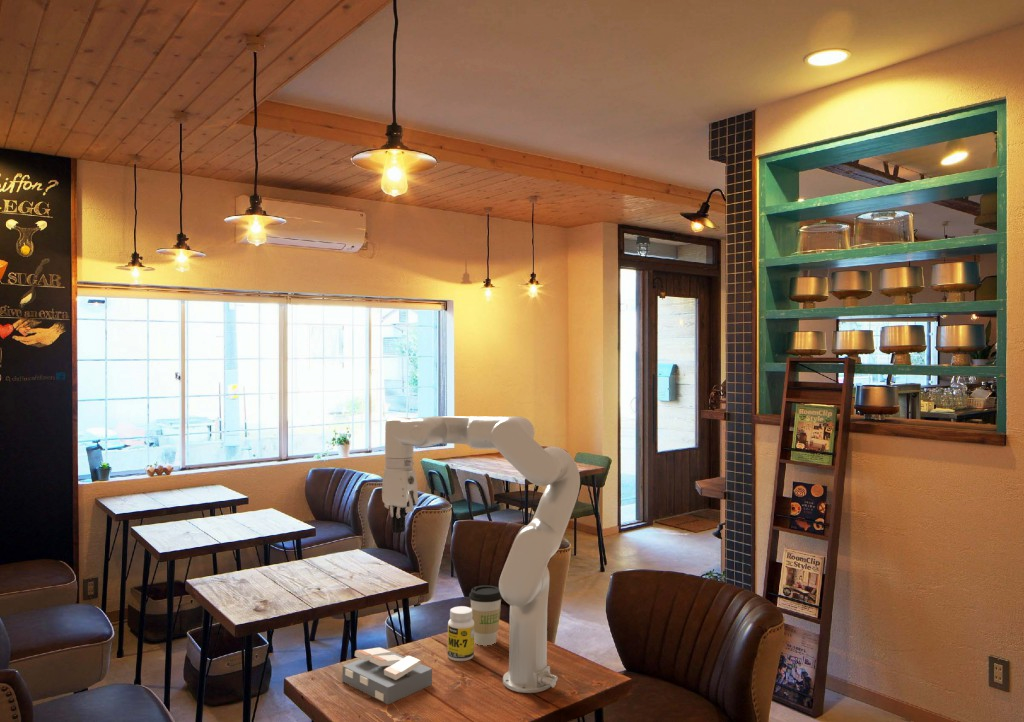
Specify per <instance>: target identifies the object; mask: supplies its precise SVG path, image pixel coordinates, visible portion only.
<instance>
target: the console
mask: <svg viewBox="0 0 1024 722" xmlns="http://www.w3.org/2000/svg"><path fill="white" fill-rule="evenodd" d="M385 650H388V651H390V655H397V656H399V657H401V658H405V657H406V656H403V655H401V654H398V653H396V652H394V651H391V650H389V649H385ZM391 666H392V665H391ZM387 667H390V666H379V665H376V664H374V663H372V662H370V660H367V661H364V660H362V659H360V658H358V660H357V659H356V660H354V661H352V662H349V663H346V664H344V665H342V674H341V675H342V681H343V683H344V682H345V683H344V684H346V683H348V684H349V685H348V684H347V685H348V686H350V685H351V686H350V687H352V686H353V687H352V688H354V687H355V688H354V689H356V688H357V689H356V690H358V689H359V690H358V691H360V692H362V691H363V692H362V693H364V694H366V693H367V694H366V695H368V696H369V697H372V698H374V699H376V700H378V701H380V702H382V703H384V704H386V705H390V704H392V703H395V702H396V701H399V700H401V699H403V698H406V697H409V696H410V695H412V694H414V693H417V692H419V691H422V690H423V689H426V688H429V687H430V686H432V685H433V668H431V667H429V666H427V665H424V664H422V663H421V665H420V666H418V667H416V668H415V669H413V670H412V671H410V672H408V673H407V674H405V675H404V676H402V677H400V678H399V679H397V680H394V679H392V678H390V677H388V676H386V675H384V669H386V668H387Z"/></svg>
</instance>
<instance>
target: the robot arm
mask: <svg viewBox="0 0 1024 722" xmlns="http://www.w3.org/2000/svg"><path fill="white" fill-rule="evenodd" d="M384 428H385V433H384V434H385V438H384V439H385V440H384V441H385V443H384V444H385V445H384V450H385V451H384V453H385V455H384V469H383V470H384V471H383V476H382V484H381V498H382V499H381V500H382V502H383V504H384V508H386V509H388V511H389V512H390V513H389V515H390V517H391V532H392V533H394V534H399V533H403V532H404V533H405V531H406V517H407V516H408V514H409V513H413V512H414V507H415V506H417V505H418V503H419V491H418V490H419V489H418V479H417V472H416V469H414V464H415V462H414V447H417V448H425V447H429V446H430V447H431V446H434V445H437V444H457V445H466V446H468V447H470V448H471V449H473V450H496V451H498V452H499V453H500V455H502V457H504V459H505V460H506V461H507V462H508V463H509V464H510V465H511V466H512V467H514V469H515V470H516V471H518V473H520V475H522V477H523V478H525V479H526V480H527V481H528V482H529V483H531V484H533V485H535V486H538V487H545V489H544V491H543V493H542V496H541V497H540V500H539V503H538V506H537V508H536V510H535V513H534V515H533V518H532V520H531V521H530V522H529V523H528V524H527V525H526V526H524V527H523V528H522V529H521V530H520V531H519V532H518V534H517V535H516V537H515V539H514V541H513V543H512V546H511V548H510V551H509V553H508V554H507V558H506V561H505V563H504V565H503V568H502V571H501V574H500V577H499V580H498V588H499V591H500V594H501V596H502V599H503V601H504V602H505V603H506V604H508V605H509V620H508V621H509V626H508V627H509V633H508V634H509V635H508V636H509V637H508V638H509V639H508V640H509V641H508V643H509V644H508V650H509V651H508V652H509V653H508V655H509V656H508V671H507V672H505V673H504V674H503V675H502V684H503V685H504V687H505V688H507V689H509V690H511V691H513V692H517V693H521V694H522V693H524V694H535V693H540V692H544V691H546V690H548V689H550V688H555V687H556V685H557V681H558V680H559V677H558V675H557V674H552V673H551V666H550V665H547V664H548V661H547V660H548V659H547V658H548V652H547V651H548V630H547V629H548V603H549V602H548V600H549V599H548V598H549V590H550V570H549V568H548V563H549V561H550V559H551V558H552V557H553V556H554V555H555V554H556V553H557V552H558V550H559V548H560V547H561V543H562V540H563V537H564V535H565V533H566V530H567V527H568V525H569V521H570V520H571V516H572V513H573V511H574V508H575V505H576V503H577V500H578V496H579V493H580V486H581V476H580V470H579V468H578V464H577V463H576V461H575V459H574V458H573V457H572V456H571V454H570V453H568V451H566V450H565V449H563V448H562V447H558V446H548V447H545V448H543V446H542V445H540V444H539V443H538V442H537V441H536V440H535V439H534V438H535V428H534V425H533V423H532V422H531V421H530V420H529V419H527V418H525V417H523V416H517V415H515V416H513V415H511V416H508V415H507V416H504V415H502V416H501V415H497V416H494V415H493V416H491V415H486V416H485V415H484V416H483V415H469V416H460V415H459V416H457V415H455V416H453V415H452V416H448V415H447V416H446V415H445V416H441V415H440V416H439V415H438V416H436V415H435V416H428V417H423V418H415V419H411V418H410V417H405V416H404V417H403V416H402V417H399V416H398V417H389V418H387V419H386V421H385V427H384Z"/></svg>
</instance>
